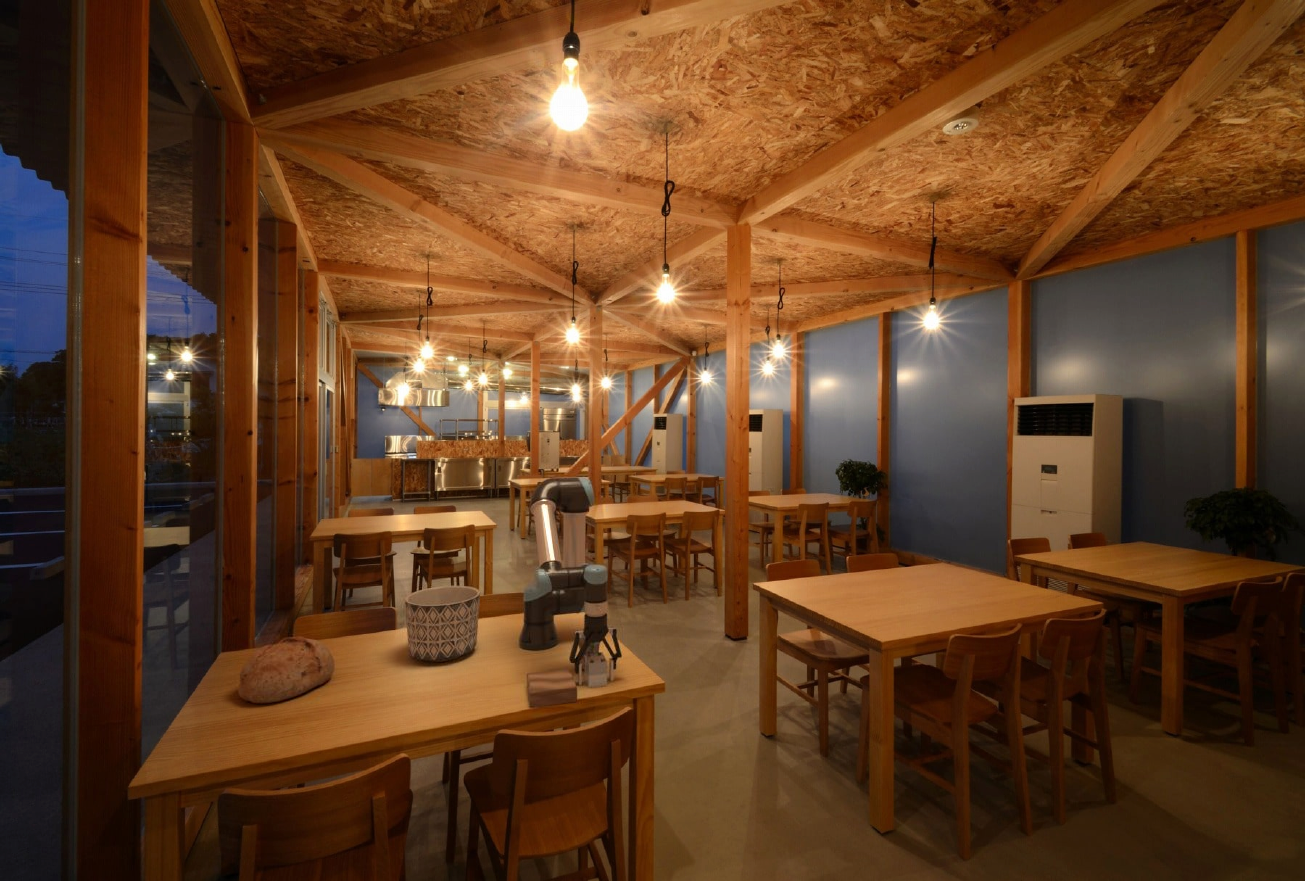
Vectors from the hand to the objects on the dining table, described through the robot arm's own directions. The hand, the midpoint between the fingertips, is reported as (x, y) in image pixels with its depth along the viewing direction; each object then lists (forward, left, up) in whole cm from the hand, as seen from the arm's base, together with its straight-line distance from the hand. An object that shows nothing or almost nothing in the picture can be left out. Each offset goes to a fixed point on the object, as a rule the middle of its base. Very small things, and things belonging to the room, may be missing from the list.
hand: (595, 681), depth 182 cm
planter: (-39, -50, 0) cm, 63 cm away
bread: (-24, -96, -1) cm, 99 cm away
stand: (+4, -15, 0) cm, 16 cm away
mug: (-14, 0, 0) cm, 14 cm away
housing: (0, 0, 0) cm, 0 cm away
